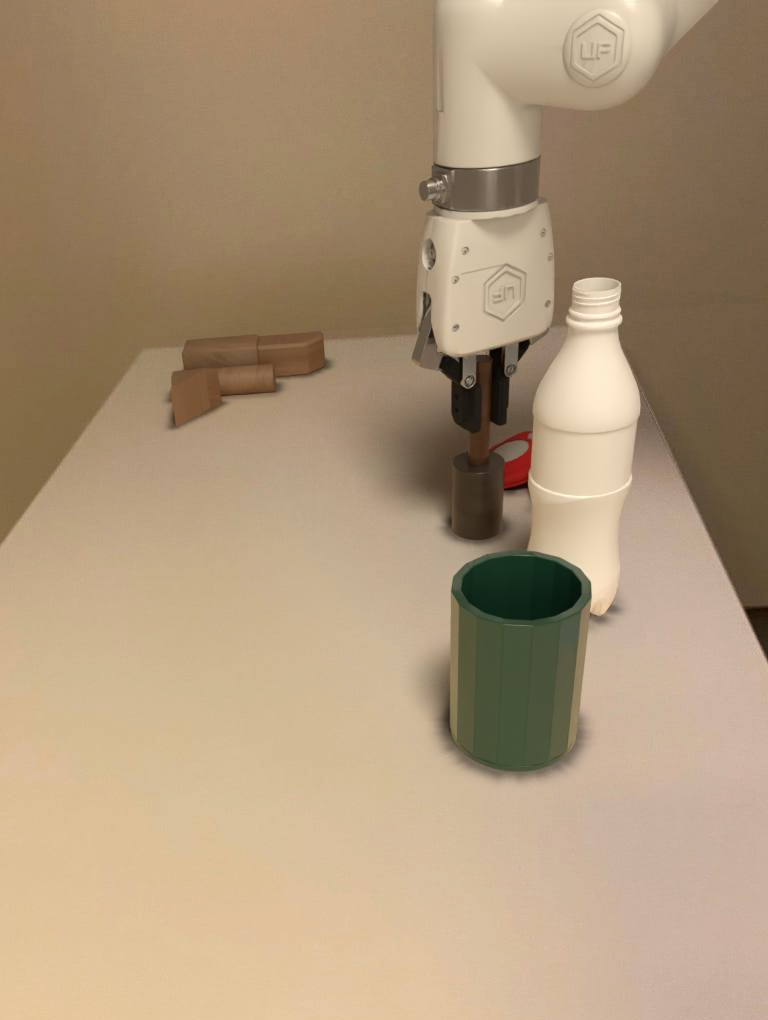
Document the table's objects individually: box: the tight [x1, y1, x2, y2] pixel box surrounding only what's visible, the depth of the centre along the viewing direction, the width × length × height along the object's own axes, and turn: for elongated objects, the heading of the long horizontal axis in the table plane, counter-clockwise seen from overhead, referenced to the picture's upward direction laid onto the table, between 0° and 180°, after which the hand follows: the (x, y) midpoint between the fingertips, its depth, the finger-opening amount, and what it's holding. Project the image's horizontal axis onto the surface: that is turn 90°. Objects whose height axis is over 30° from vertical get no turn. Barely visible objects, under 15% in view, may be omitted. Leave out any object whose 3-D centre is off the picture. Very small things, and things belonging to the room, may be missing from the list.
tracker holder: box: [490, 430, 533, 489], centre depth 94 cm, size 12×4×10 cm
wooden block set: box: [169, 330, 326, 427], centre depth 117 cm, size 17×6×18 cm
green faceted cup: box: [449, 549, 592, 773], centre depth 63 cm, size 8×8×12 cm
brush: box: [451, 354, 505, 541], centre depth 84 cm, size 4×4×16 cm
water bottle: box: [526, 277, 641, 617], centre depth 71 cm, size 7×7×25 cm
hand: (479, 422), depth 82 cm, fingers closed on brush
